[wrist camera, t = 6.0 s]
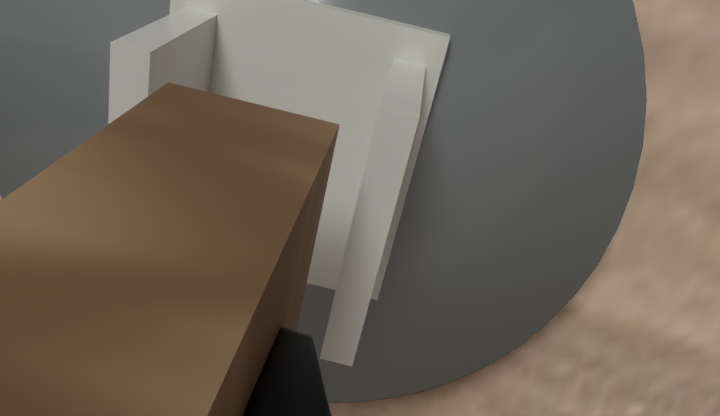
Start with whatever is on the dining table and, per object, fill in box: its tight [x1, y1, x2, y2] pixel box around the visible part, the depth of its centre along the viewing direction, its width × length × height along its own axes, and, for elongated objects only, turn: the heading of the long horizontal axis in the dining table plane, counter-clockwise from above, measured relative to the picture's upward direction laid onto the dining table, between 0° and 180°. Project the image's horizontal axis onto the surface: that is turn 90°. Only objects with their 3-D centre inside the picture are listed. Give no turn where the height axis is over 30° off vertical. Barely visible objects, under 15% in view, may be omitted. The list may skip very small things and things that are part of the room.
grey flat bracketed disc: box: [0, 0, 647, 403], centre depth 12 cm, size 14×14×4 cm
